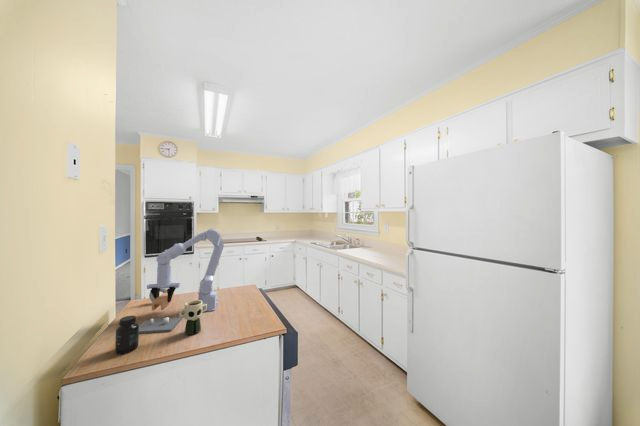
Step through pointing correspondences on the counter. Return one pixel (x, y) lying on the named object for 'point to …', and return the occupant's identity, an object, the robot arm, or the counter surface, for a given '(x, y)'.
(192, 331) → the character mug
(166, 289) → the donut
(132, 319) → the supplement bottle
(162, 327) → the post board
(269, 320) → the counter surface
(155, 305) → the rectangular block
